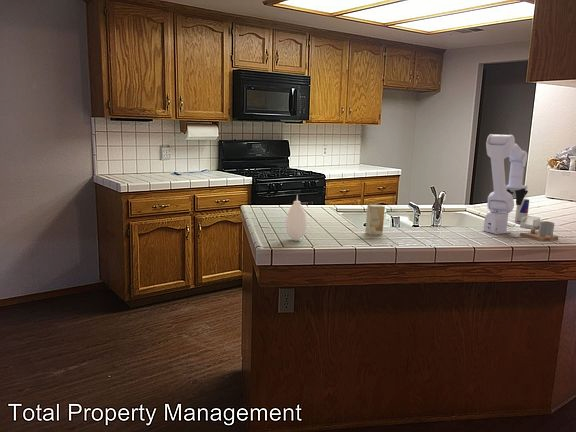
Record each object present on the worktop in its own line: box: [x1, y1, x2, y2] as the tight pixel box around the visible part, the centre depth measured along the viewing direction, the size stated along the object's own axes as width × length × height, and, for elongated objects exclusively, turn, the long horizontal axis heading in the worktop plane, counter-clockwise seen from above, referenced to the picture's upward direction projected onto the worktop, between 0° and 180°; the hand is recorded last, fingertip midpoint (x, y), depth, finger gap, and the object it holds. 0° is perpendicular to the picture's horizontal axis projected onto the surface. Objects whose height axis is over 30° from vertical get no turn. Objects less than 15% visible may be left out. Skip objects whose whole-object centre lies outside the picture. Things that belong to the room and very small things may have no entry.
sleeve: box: [537, 220, 555, 238], centre depth 200 cm, size 6×6×6 cm
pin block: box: [519, 226, 559, 242], centre depth 203 cm, size 11×10×4 cm
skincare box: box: [365, 204, 386, 236], centre depth 199 cm, size 6×4×12 cm
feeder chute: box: [519, 215, 541, 230], centre depth 225 cm, size 9×6×5 cm
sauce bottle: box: [285, 194, 308, 242], centre depth 183 cm, size 8×8×18 cm
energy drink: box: [514, 198, 530, 224], centre depth 235 cm, size 5×5×12 cm
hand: (512, 205), depth 222 cm, fingers open, 7 cm apart
